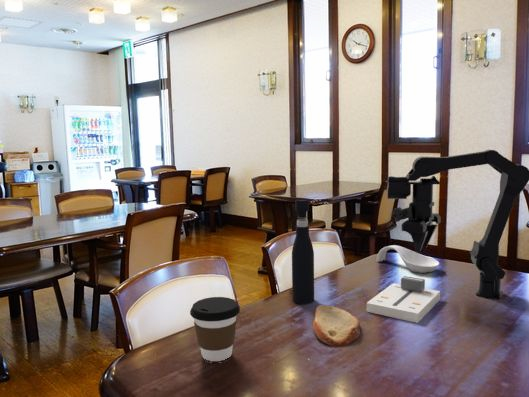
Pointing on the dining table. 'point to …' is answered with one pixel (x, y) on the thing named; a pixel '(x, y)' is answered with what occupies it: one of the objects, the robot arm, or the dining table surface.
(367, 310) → the console
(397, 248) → the spoon rest
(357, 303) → the dining table surface
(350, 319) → the slice of bread
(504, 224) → the robot arm
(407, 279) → the fader
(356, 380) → the dining table surface
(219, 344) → the coffee cup
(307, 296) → the black bottle
